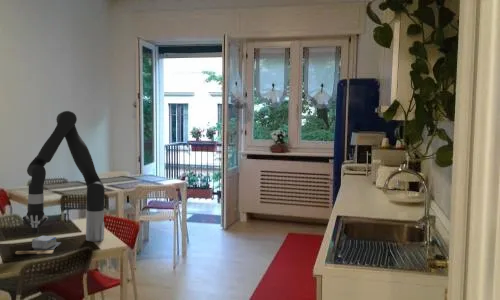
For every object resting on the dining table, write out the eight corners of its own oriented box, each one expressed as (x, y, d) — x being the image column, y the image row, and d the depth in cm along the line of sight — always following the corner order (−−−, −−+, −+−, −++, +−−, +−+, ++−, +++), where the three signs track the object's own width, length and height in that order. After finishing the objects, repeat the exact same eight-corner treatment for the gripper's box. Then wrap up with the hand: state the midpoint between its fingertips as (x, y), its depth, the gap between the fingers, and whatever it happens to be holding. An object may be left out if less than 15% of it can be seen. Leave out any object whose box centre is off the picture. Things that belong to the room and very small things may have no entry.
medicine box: (31, 247, 220) (46, 249, 218) (31, 239, 220) (46, 241, 218) (42, 243, 228) (56, 245, 226) (42, 235, 228) (56, 237, 226)
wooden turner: (53, 251, 218) (53, 249, 218) (52, 253, 214) (52, 251, 214) (17, 252, 214) (17, 250, 213) (14, 255, 209) (14, 253, 209)
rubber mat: (61, 243, 232) (61, 242, 232) (53, 250, 220) (53, 249, 220) (42, 242, 231) (42, 241, 231) (33, 249, 219) (33, 248, 219)
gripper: (51, 200, 227) (50, 232, 228) (25, 200, 226) (25, 231, 227) (46, 203, 220) (45, 236, 221) (19, 202, 218) (19, 235, 220)
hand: (35, 234), depth 224 cm, fingers closed
